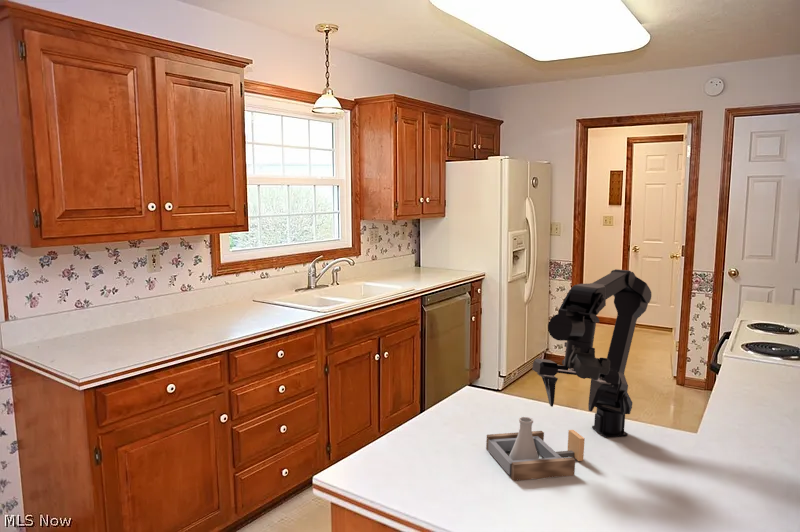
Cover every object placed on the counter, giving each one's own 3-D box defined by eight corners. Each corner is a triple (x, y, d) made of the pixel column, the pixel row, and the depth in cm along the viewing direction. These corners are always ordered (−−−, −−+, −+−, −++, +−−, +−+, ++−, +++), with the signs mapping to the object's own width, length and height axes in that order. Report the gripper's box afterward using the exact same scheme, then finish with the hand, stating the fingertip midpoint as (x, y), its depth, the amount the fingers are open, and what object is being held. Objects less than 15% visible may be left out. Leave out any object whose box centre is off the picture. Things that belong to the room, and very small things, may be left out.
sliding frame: (564, 444, 139) (565, 423, 138) (592, 468, 127) (593, 445, 126) (488, 450, 135) (488, 428, 134) (509, 475, 123) (510, 451, 122)
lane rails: (540, 444, 139) (541, 430, 139) (574, 475, 124) (575, 459, 124) (486, 448, 136) (486, 434, 136) (513, 480, 121) (514, 464, 121)
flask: (503, 464, 128) (505, 421, 127) (513, 452, 135) (514, 411, 134) (535, 472, 125) (538, 428, 124) (544, 459, 131) (546, 417, 130)
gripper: (553, 340, 123) (542, 413, 123) (636, 351, 125) (626, 423, 125) (536, 333, 134) (527, 400, 134) (613, 344, 136) (604, 410, 136)
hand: (570, 408), depth 132 cm, fingers open, 9 cm apart
